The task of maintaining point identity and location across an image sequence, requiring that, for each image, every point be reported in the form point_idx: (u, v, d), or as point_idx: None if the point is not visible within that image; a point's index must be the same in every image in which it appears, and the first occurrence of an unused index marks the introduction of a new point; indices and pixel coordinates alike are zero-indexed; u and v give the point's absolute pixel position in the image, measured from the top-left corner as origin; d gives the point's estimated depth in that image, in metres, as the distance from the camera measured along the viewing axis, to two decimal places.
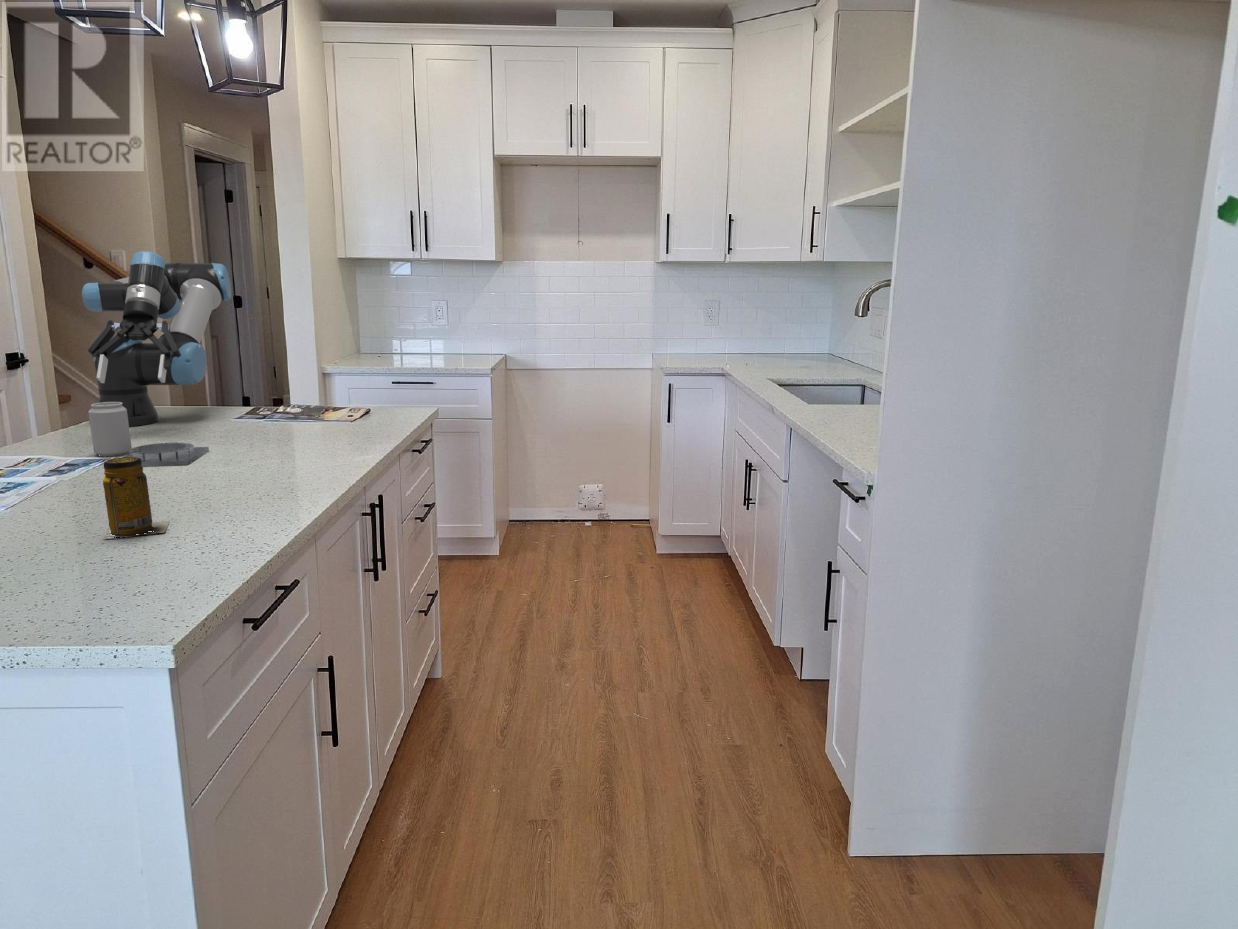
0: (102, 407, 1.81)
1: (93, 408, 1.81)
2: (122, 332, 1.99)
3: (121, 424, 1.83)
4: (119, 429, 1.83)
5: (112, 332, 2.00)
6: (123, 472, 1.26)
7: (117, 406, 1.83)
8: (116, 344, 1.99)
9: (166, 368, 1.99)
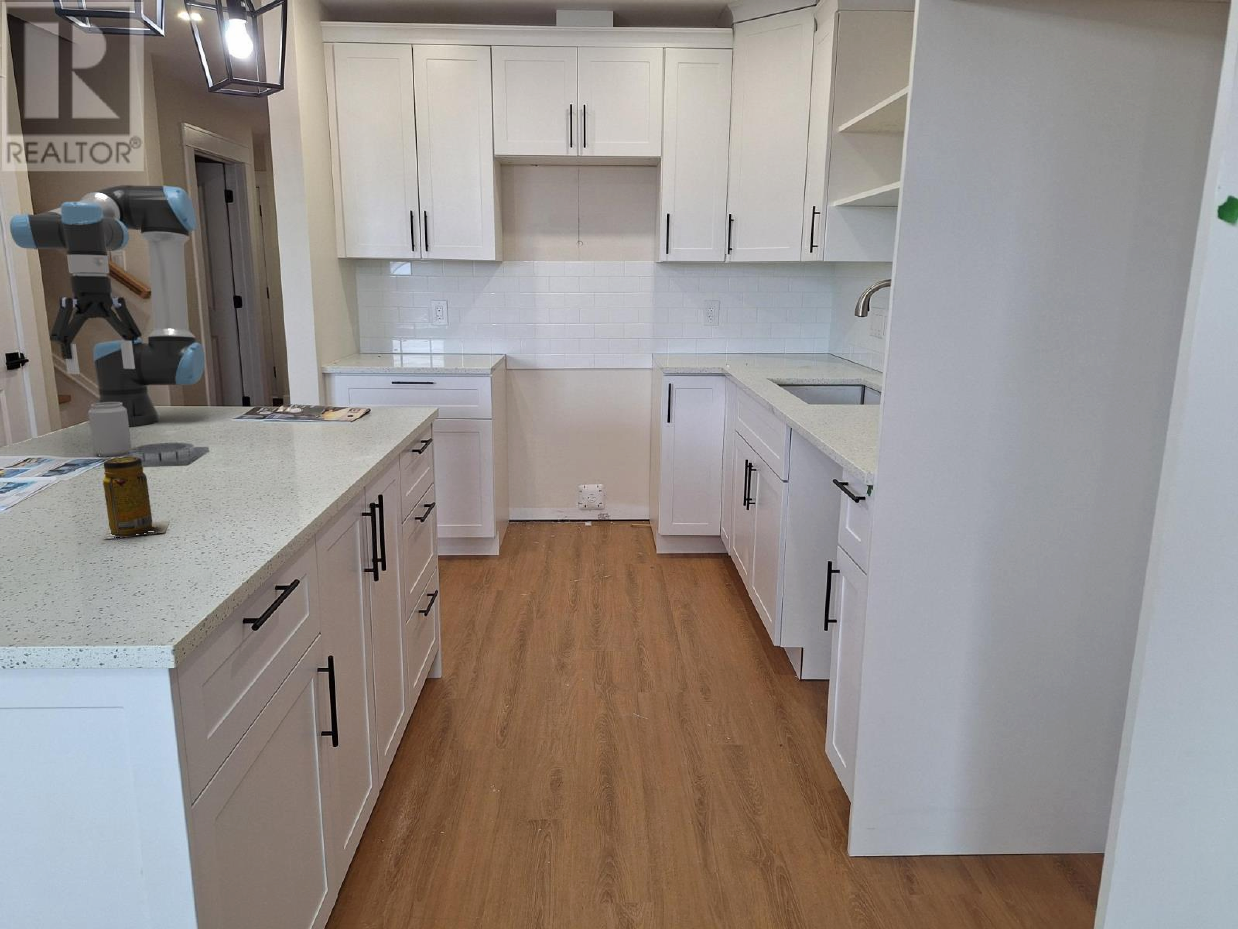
0: (102, 407, 1.81)
1: (93, 408, 1.81)
2: (88, 315, 1.76)
3: (121, 423, 1.83)
4: (119, 429, 1.83)
5: None
6: (123, 472, 1.26)
7: (117, 406, 1.83)
8: None
9: None
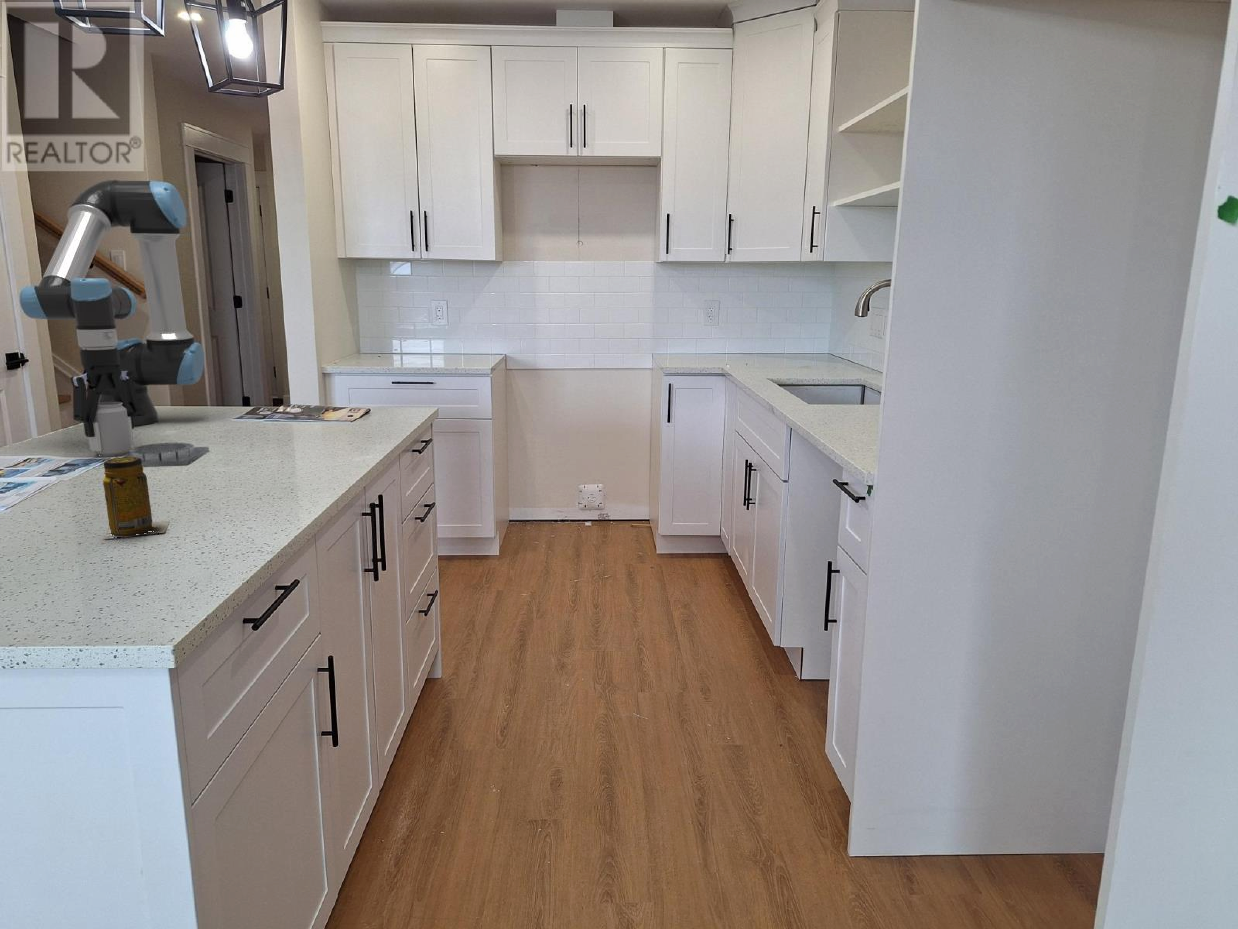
0: (102, 407, 1.81)
1: None
2: (101, 389, 1.80)
3: (121, 423, 1.83)
4: (119, 429, 1.83)
5: None
6: (123, 472, 1.26)
7: (117, 406, 1.83)
8: None
9: None
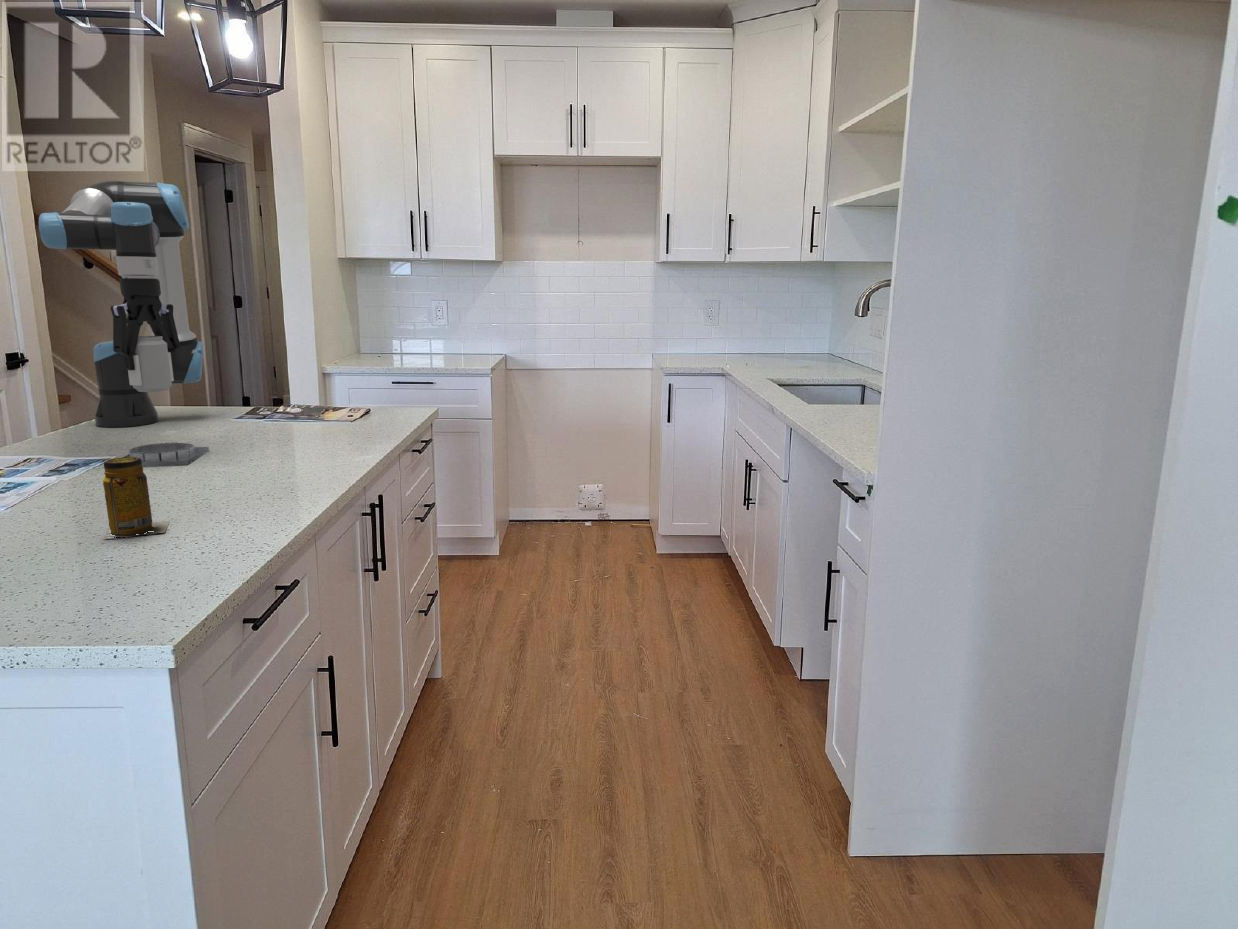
0: (142, 339, 1.73)
1: None
2: (141, 320, 1.72)
3: (161, 357, 1.75)
4: (160, 363, 1.75)
5: None
6: (123, 472, 1.26)
7: (158, 339, 1.75)
8: None
9: None
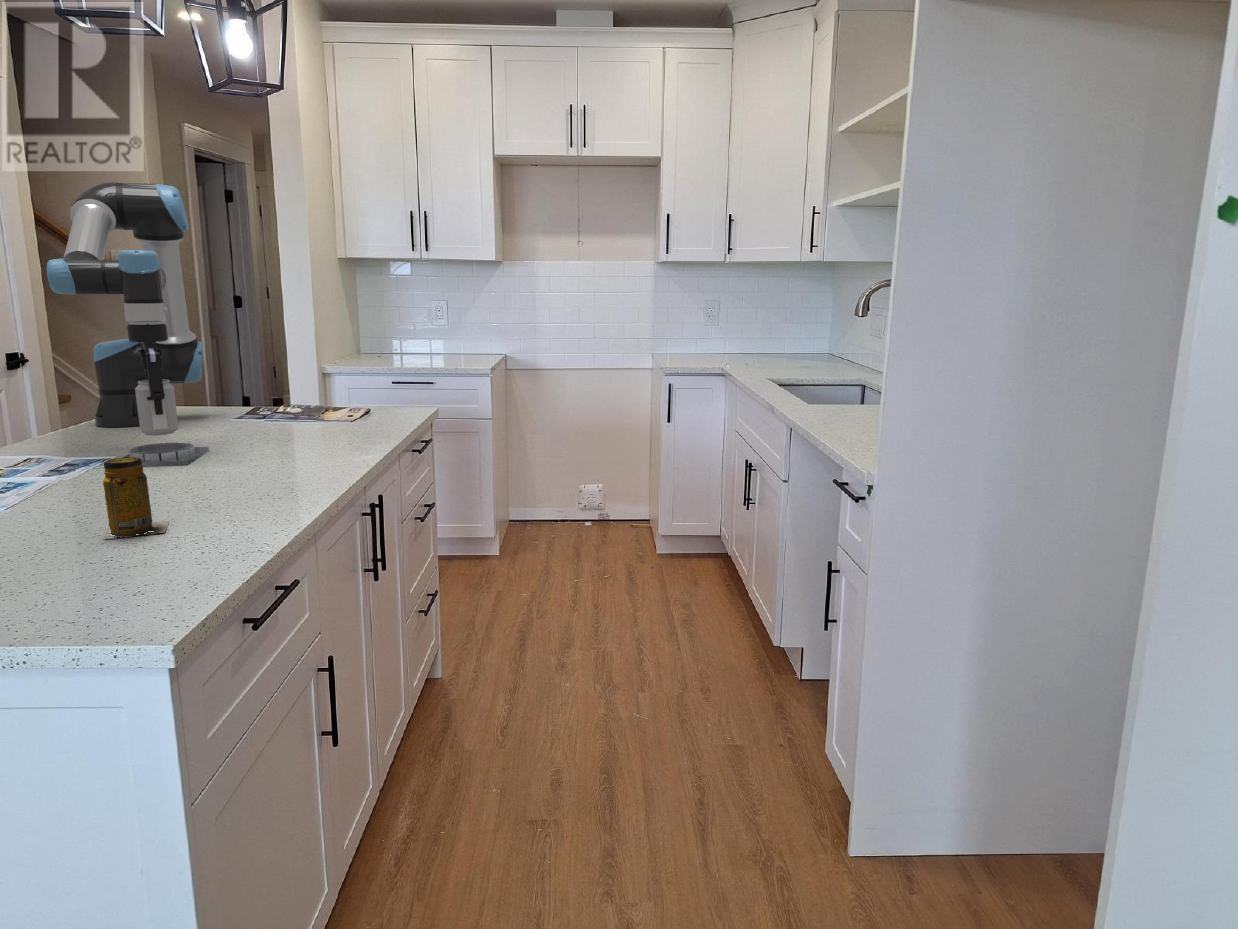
0: (163, 383, 1.77)
1: None
2: None
3: None
4: (175, 404, 1.81)
5: None
6: (123, 472, 1.26)
7: None
8: None
9: None
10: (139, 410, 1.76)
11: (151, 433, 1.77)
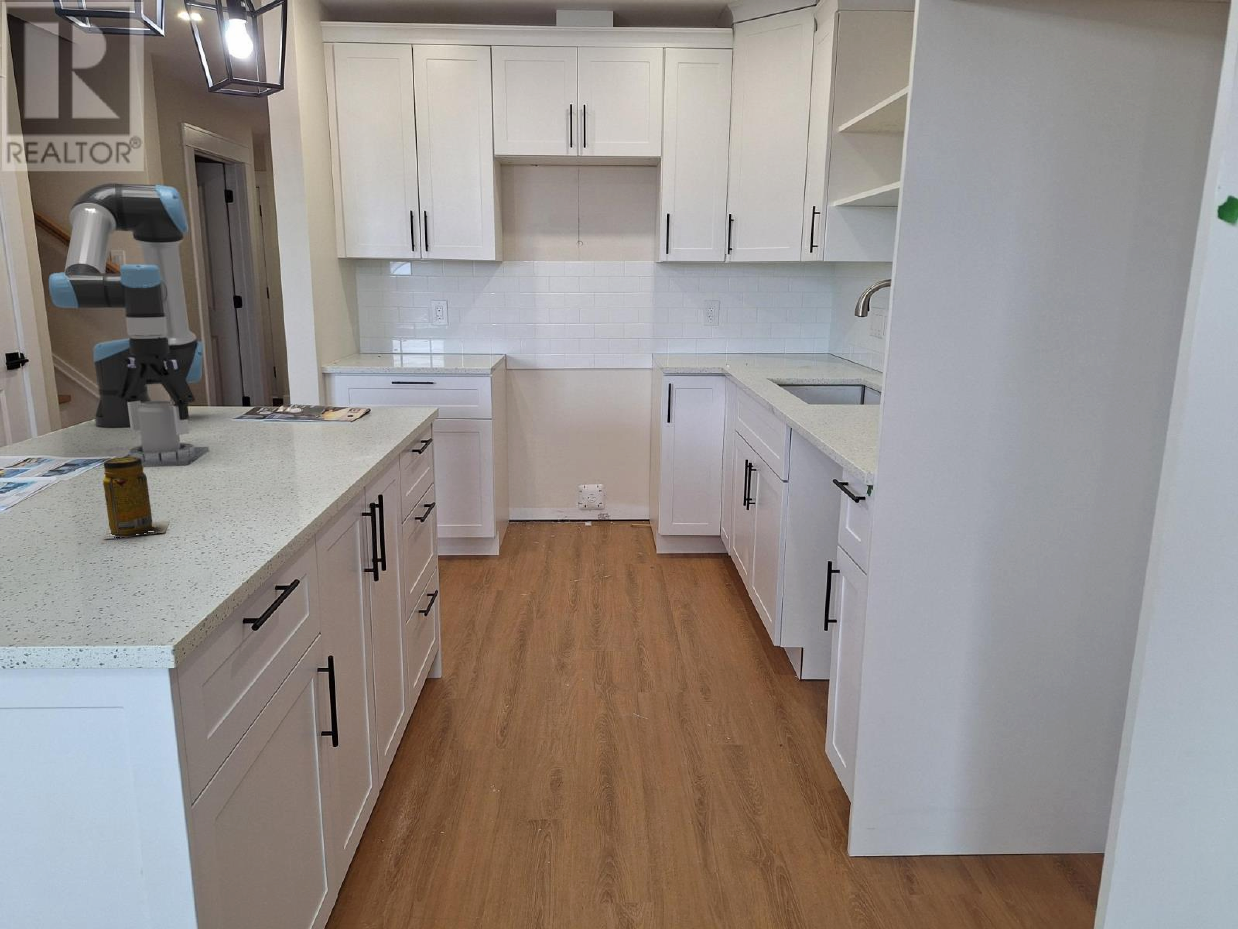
0: (171, 403, 1.80)
1: (165, 406, 1.78)
2: None
3: None
4: None
5: None
6: (123, 472, 1.26)
7: None
8: None
9: None
10: (150, 432, 1.77)
11: None
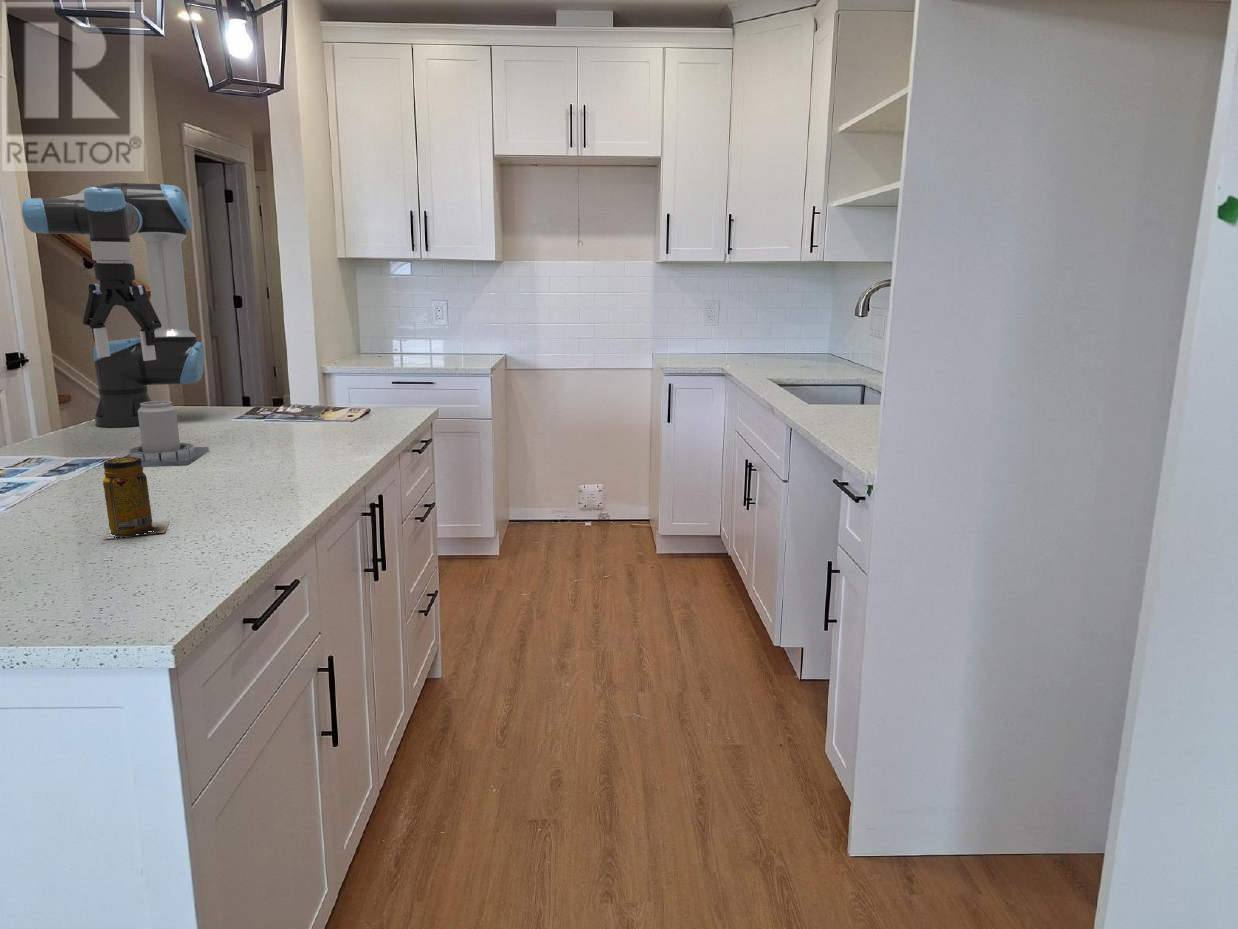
0: None
1: (164, 406, 1.78)
2: None
3: None
4: None
5: None
6: (123, 472, 1.26)
7: None
8: None
9: None
10: (150, 433, 1.77)
11: None
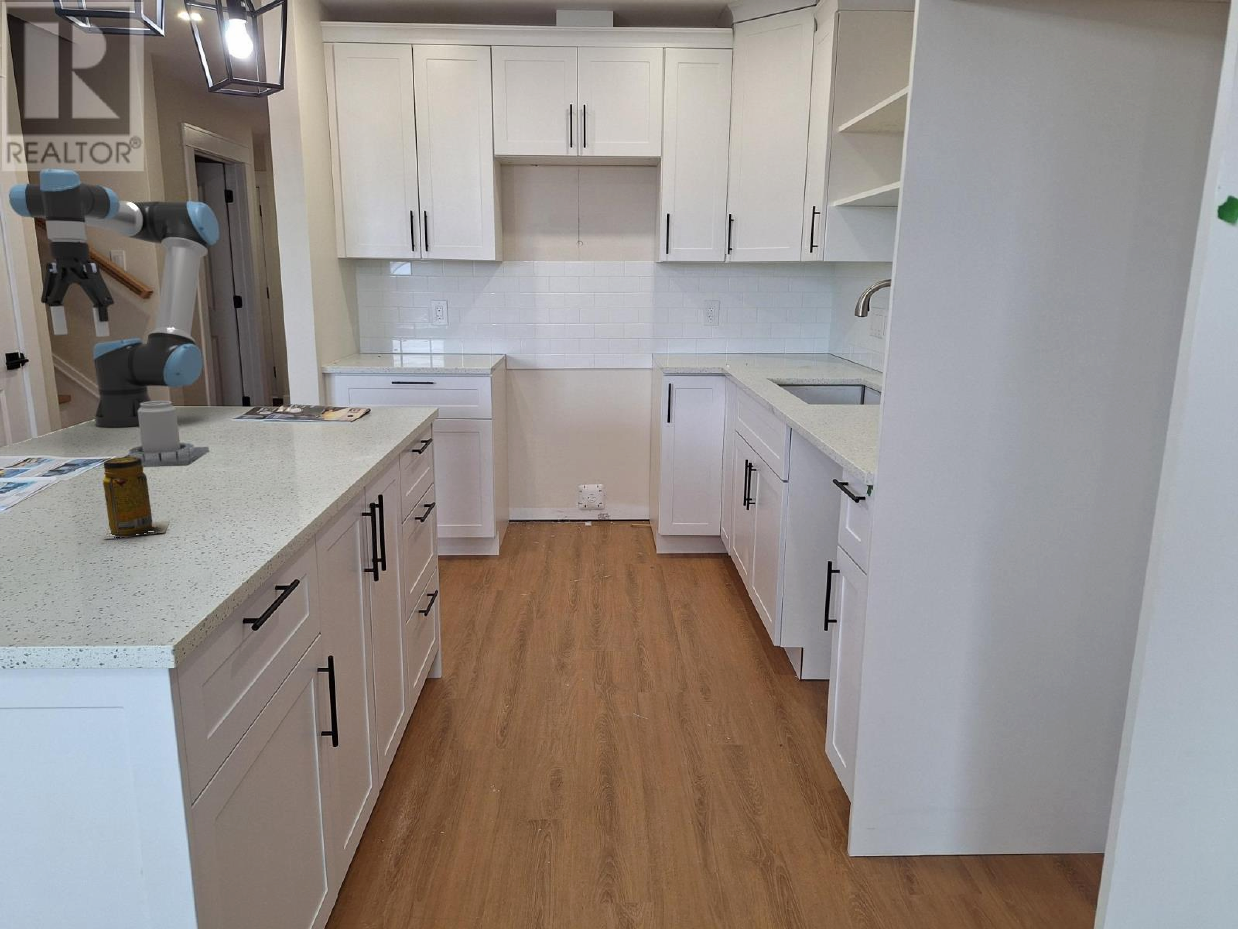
0: None
1: (164, 406, 1.78)
2: None
3: None
4: None
5: None
6: (123, 472, 1.26)
7: None
8: None
9: None
10: (150, 433, 1.77)
11: None
